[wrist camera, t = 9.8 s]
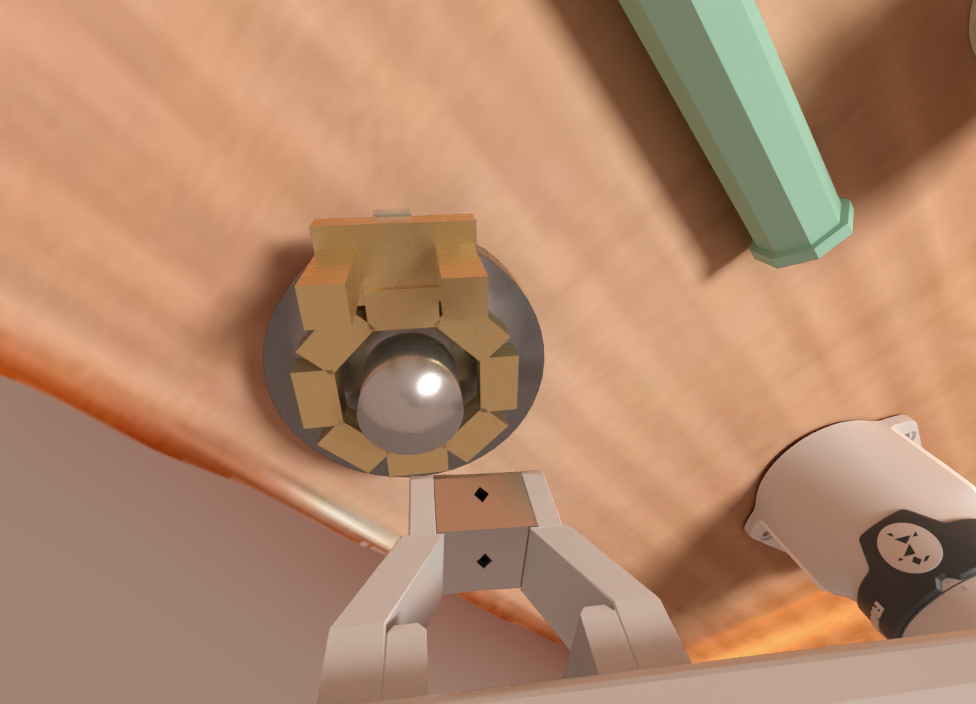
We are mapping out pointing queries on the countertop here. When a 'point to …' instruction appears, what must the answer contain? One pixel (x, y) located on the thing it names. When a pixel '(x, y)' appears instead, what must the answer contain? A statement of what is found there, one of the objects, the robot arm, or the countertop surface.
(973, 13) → the reusable coffee cup
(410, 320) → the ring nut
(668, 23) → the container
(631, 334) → the countertop surface
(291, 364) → the grey round piece
